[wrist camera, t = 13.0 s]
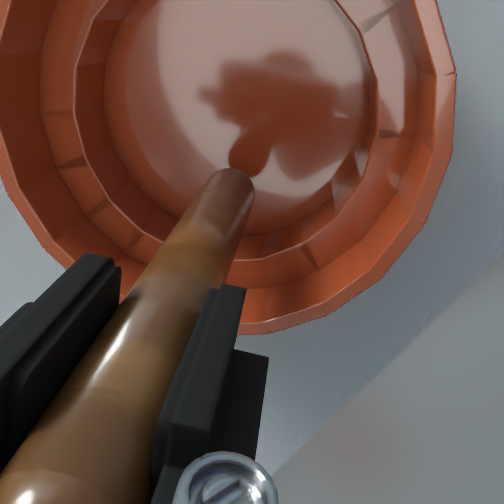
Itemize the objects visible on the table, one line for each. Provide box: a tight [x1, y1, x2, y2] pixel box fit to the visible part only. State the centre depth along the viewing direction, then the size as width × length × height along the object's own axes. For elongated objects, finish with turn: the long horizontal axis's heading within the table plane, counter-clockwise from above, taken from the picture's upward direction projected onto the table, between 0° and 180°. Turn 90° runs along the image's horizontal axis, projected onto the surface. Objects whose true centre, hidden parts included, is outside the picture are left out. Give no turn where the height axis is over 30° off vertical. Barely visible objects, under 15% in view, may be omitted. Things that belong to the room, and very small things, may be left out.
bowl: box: [0, 0, 457, 335], centre depth 18 cm, size 15×15×6 cm
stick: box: [0, 168, 255, 504], centre depth 13 cm, size 2×2×16 cm
